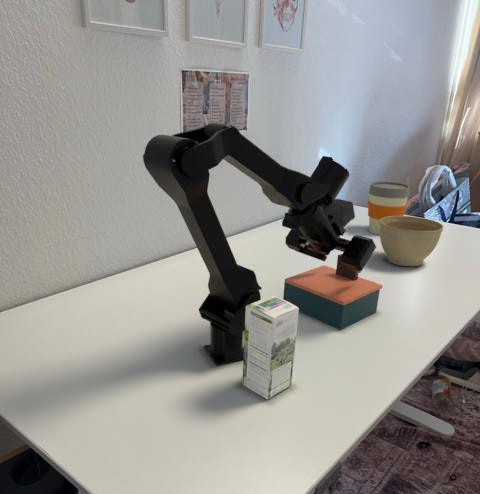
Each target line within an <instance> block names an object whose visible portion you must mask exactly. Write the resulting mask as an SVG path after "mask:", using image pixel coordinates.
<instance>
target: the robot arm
mask: <svg viewBox="0 0 480 494" xmlns="http://www.w3.org/2000/svg"><path fill="white" fill-rule="evenodd" d="M223 160H224V161H225V162H227V164H230V165H231V166H233V167H234V168H235V169H237V170H238V171H240V172H241V173H243V174H244V175H245V176H247V177H248V178H249V179H251V180H253V181H254V182H256V183H257V184H258V185H259V186H260V187H261V191H262V193H263V194H264V195H265V196H266V198H267V199H268V200H269V201H270V202H271V203H272V204H275V205H277V206H281V207H286V208H288V210H287V212H285V213H284V217H283V219H282V221H281V227H283V228H286V229H289V232H288V233H287V235H286V236H285V242H284V243H285V245H286V246H287V247H288V249H290V250H293V251H295V252H297V253H300V254H303V255H306V256H309V257H311V258H314V259H317V260H319V261H322V262H326V260H327V258H328V256H329V255H330V253H331V252H332V251H334V250H336V251H339V252H342V256H341V263H342V264H343V265H344V267H345V268H348V269H350V270H353V271H355V272H358V274H361V273H362V271H363V270H364V268H365V267H366V265H367V263H368V262H369V260H370V258H371V257H372V255H373V254H374V252H375V250H376V249H377V246H376V243H375V241H374V240H373V238H370V237H366V236H363V235H359V234H356V235H353V236H352V237H351V239H350V240H349V239H346V238H342V236H344V234H345V233H346V232H347V231H346V228H345V227H346V226H347V225H348V224H349V223H350V222H351V221H353V220H355V219H356V214H355V208H354V202H352V201H349V200H345V199H340V198H337V197H338V196H339V194H340V192H341V191H342V190H343V188H344V186H345V184H346V183H347V181H348V179H349V178H350V172H349V170H348V169H347V168H346V167H344V165H342V164H341V163H340V162H337V161H335V160H334V158H333V157H332V156H326V155H322V157H321V158H320V160H319V161H318V164H317V166H316V167H315V169H314V171H312V174H311V175H310V176H309V175H307V174H304V173H302V172H300V171H297V170H295V169H291V168H288V167H286V166H283V165H282V164H280V163H279V162H277V161H276V160H275V159H274V158H273V157H271V156H270V155H269V154H268V153H266V152H265V151H263V150H262V149H261V148H260V147H258V145H256V144H254V142H252V141H251V140H250V139H248V138H247V137H246V136H245V135H243V134H242V133H241V132H240V130H239V129H238V128H237V127H236V126H234V125H232V124H231V123H223V122H222V123H221V122H210V123H208V124H206V125H203V126H201V127H198V128H194V129H190V130H186V131H182V132H178V133H174V134H171V135H169V134H157V135H155V136H153V137H152V138H151V139H149V141H148V142H147V144H146V146H145V149H144V153H143V155H142V161H143V164H144V167H145V169H146V171H147V172H148V173H149V175H150V176H151V178H152V179H153V180H154V182H155V183H156V184H157V186H158V187H159V188H160V189H161V190H162V191H163V192H164V193H165V194H166V195H168V197H169V198H171V200H172V201H173V202H174V203H175V204H176V206H177V209H178V211H179V213H180V215H181V217H182V219H183V221H184V223H185V225H186V227H187V229H188V231H189V234H190V236H191V238H192V240H193V242H194V245H195V247H196V248H197V251H198V252H199V255H200V256H201V259H202V261H203V263H204V265H205V267H206V269H207V272H208V273H209V274H208V275H209V276H208V282H207V288H208V295H207V296H206V298H205V299H204V300H203V301H202V304H201V305H200V306H199V307H198V312H199V315H200V317H201V319H202V320H206V321H208V322H209V325H210V327H209V328H210V334H209V335H210V339H209V340H210V343H209V344H205V345H204V346H203V350H204V351H205V353H206V354H208V357H210V359H211V360H212V361H213V363H214V364H215V365H217V366H220V365H224V364H228V363H232V362H238V361H242V360H243V359H244V332H245V313H246V306H247V305H249V304H252V303H254V302H257V301H259V300H262V299H261V298H262V297H261V296H262V295H261V292H260V291H261V290H262V286H260V285H259V283H258V280H257V279H258V278H257V274H256V273H255V270H253V269H250V268H247V267H245V266H244V265H243V266H242V265H240V264H238V262H237V260H236V258H235V255H234V253H233V251H232V248H231V246H230V243H229V241H228V238H227V236H226V234H225V232H224V229H223V226H222V224H221V222H220V219H219V217H218V215H217V212H216V210H215V208H214V205H213V202H212V201H211V197H210V196H209V192H208V189H209V184H210V183H209V182H210V175H211V174H210V171H209V170H212V169H213V168H216V167H217V166H218V165H219V164H220V163H221V162H222V161H223Z"/></svg>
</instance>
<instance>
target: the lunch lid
mask: <svg viewBox="0 0 480 494" xmlns="http://www.w3.org/2000/svg"><path fill="white" fill-rule="evenodd" d="M342 254H343V253H342ZM342 254H341V253H340V254H338V255H337V260H336V268H333V267H330V266H328V265H321V266H318V267H314V268H312V269H310V270H306V271H303V272H301V273H297V274H295V275H291V276H288V277H287V278H284V283H288V284H290V285H293V286H295V287H298V288H300V289H303V290H306V291H308V292H311V293H313V294H316V295H318V296H321V297H323V298H326V299H328V300H331V301H333V302H336V303H338V304H341V305H343V306H344V305H346V304H348V303H351V302H353V301H355V300H357V299H360V298H362V297H364V296H366V295H368V294H371V293H373V292H375V291H377V290H380V291H381V289H383V284H380V283H377V282H375V281H371V280H370V279H369V280H368V279H366V278H363V277H360V276H359V273H358V272H355V271H353V270H350V269H348V268H345V267H344V265H343V264H342V263H341V256H342Z"/></svg>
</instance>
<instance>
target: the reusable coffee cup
mask: <svg viewBox="0 0 480 494" xmlns="http://www.w3.org/2000/svg"><path fill="white" fill-rule="evenodd" d="M410 190H411V186H410V185H408V184H406V183H402V182H395V181H374V182H371V183H370V186H369V190H368V194H369V200H368V201H367V216H368V217H369V219H368V220H369V221H368V232H370V233H372V234H374V235H379V236H380V220H381V219H382V218H384V217H389V216H405V213H406V209H407V206H408V205H407V201H408V199H409V198H410V193H411V192H410Z"/></svg>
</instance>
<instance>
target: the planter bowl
mask: <svg viewBox="0 0 480 494" xmlns="http://www.w3.org/2000/svg"><path fill="white" fill-rule="evenodd" d="M444 227H445V226H444V224H443V223H441V222H439V221H436V220H433V219H429V218H425V217H419V216H408V215H404V216H389V217H384V218H382V219H381V220H380V235H379V239H380V240H379V241H380V244H381V247H382V249H383V251H384V253H385V255H386V260H387V261H388V262H389V263H391V264H394V265H396V266H403V267H419V266H421V265H422V264H424V263H423V262H424V260H425V259H426V258H428V257H429V256H430V255H431V254H432V253H433V251H434V250H435V248H436V247H437V245H438V243H439V241H440V239H441V235H442V232H443V230H444Z"/></svg>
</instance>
